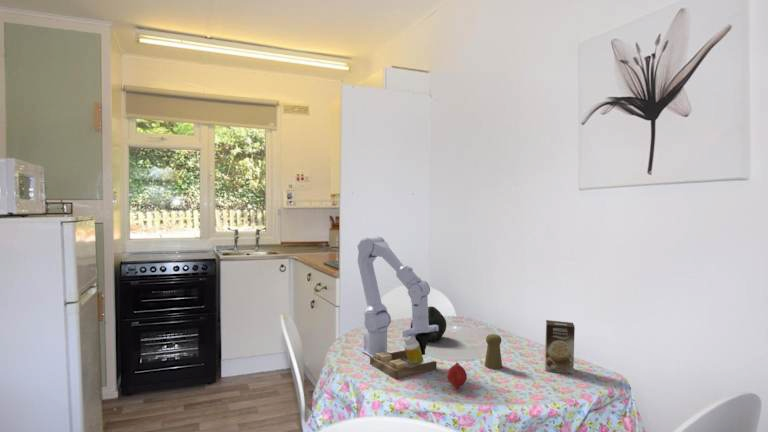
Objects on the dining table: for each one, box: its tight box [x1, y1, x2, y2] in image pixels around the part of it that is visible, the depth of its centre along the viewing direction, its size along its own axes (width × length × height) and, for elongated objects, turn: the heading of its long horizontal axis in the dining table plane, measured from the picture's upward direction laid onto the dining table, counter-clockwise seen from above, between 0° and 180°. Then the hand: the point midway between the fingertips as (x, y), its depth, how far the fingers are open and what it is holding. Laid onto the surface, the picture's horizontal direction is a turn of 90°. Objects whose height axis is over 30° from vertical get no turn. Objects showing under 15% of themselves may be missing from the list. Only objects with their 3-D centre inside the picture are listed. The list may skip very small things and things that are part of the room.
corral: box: [369, 349, 437, 380], centre depth 154 cm, size 16×17×2 cm
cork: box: [484, 333, 503, 370], centre depth 155 cm, size 6×6×11 cm
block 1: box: [376, 352, 392, 366], centre depth 155 cm, size 4×4×4 cm
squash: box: [410, 305, 447, 342], centre depth 187 cm, size 14×15×15 cm
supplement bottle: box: [403, 336, 424, 366], centre depth 155 cm, size 5×5×10 cm
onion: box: [446, 362, 468, 389], centre depth 135 cm, size 6×6×8 cm
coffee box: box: [544, 319, 576, 375], centre depth 152 cm, size 9×6×16 cm
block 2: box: [390, 359, 408, 370], centre depth 147 cm, size 4×4×4 cm
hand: (421, 354), depth 157 cm, fingers closed, pressing on supplement bottle
